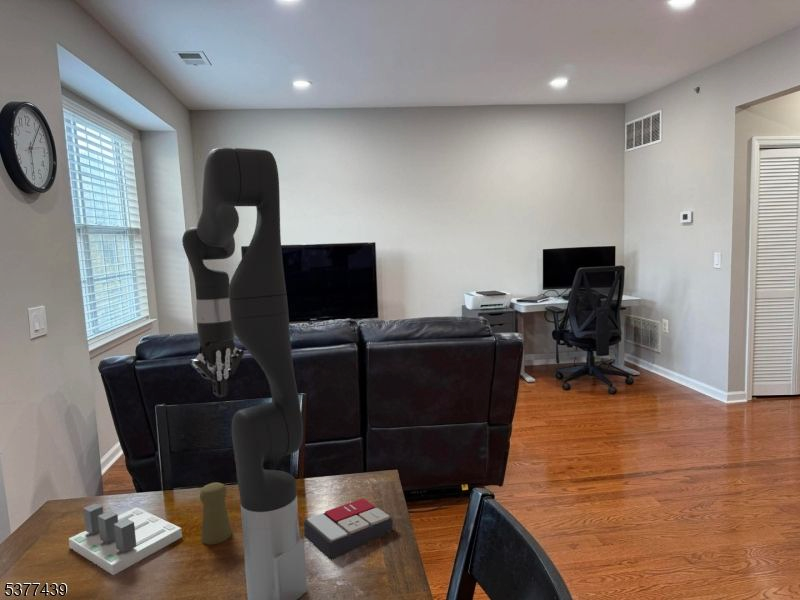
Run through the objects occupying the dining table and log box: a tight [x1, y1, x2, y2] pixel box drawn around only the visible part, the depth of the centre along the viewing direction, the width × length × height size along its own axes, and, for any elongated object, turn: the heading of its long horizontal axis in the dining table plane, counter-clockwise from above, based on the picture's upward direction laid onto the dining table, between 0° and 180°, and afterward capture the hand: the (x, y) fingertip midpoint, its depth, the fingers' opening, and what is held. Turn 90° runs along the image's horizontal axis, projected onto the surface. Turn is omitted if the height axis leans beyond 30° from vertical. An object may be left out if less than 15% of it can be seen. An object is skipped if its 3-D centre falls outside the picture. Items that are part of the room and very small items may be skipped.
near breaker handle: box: [114, 518, 136, 553], centre depth 96 cm, size 3×2×5 cm
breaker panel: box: [68, 506, 183, 576], centre depth 102 cm, size 17×14×2 cm
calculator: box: [303, 498, 394, 561], centre depth 103 cm, size 11×4×15 cm
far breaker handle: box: [82, 502, 104, 535], centre depth 103 cm, size 3×2×5 cm
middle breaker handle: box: [98, 510, 119, 544], centre depth 99 cm, size 3×2×5 cm
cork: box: [199, 482, 233, 545], centre depth 103 cm, size 6×6×11 cm
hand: (221, 395), depth 111 cm, fingers closed
